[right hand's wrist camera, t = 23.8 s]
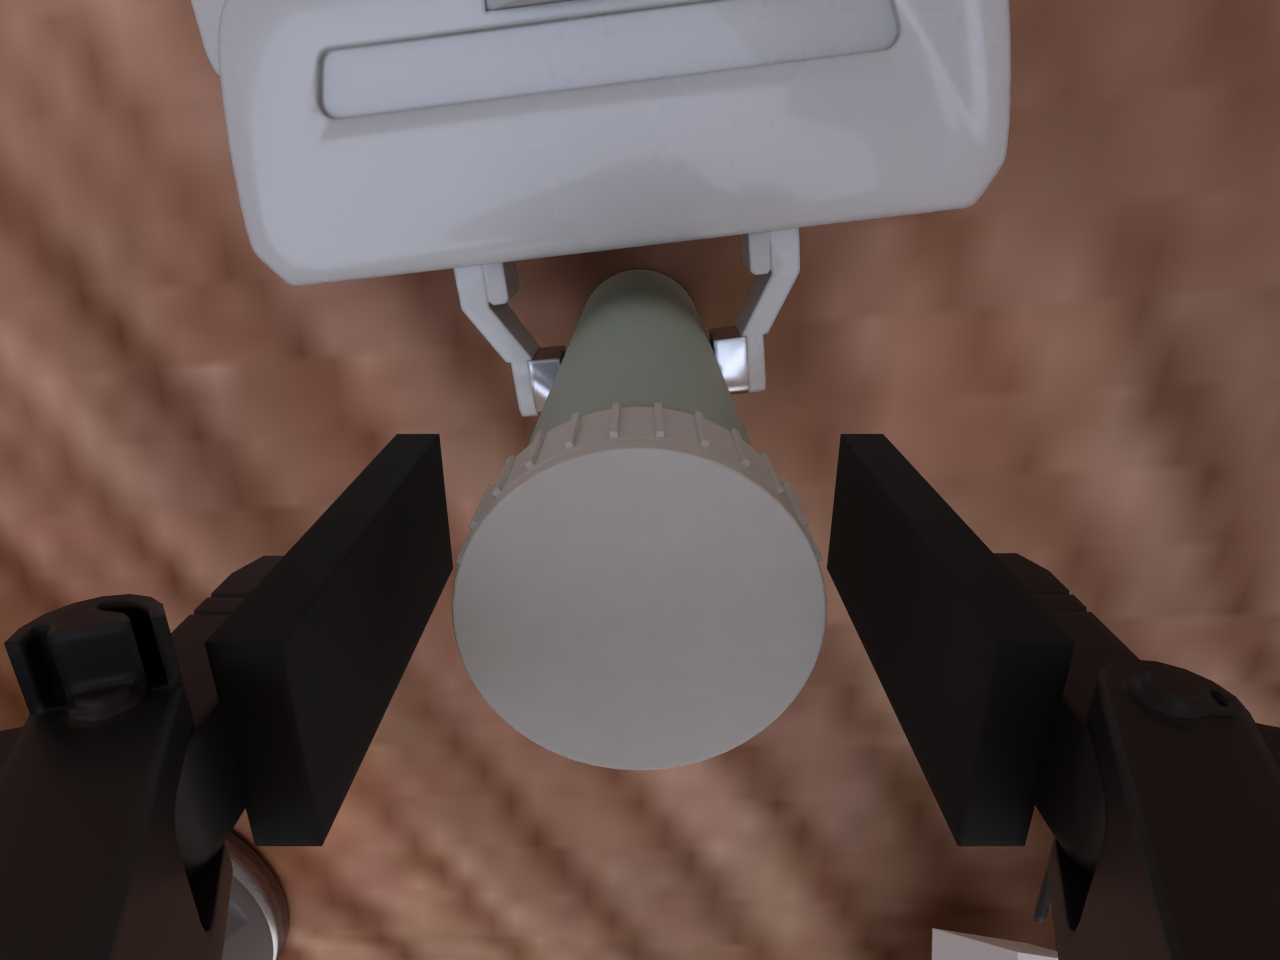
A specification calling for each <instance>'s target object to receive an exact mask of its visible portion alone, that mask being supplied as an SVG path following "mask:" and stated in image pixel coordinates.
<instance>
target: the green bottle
mask: <svg viewBox="0 0 1280 960" xmlns="http://www.w3.org/2000/svg"><path fill="white" fill-rule="evenodd" d="M615 403H620V407H621V408H623V407H654V404H655V403H662V408H665V409H670V410H675V411H681V412H685V413H689V414H692V415H694V414H695V411H699V412H702V413H703V417H704V419H707V420H709V421H711V422H713V423H715V424H717V425H719V426H721V427H723V428H725V429H727V430H729V431H731V430H732V428H735V429H737V430H738V431H739V433H740V435H741V438H742V440H744V441H745V442H746V443H747V444H749V445H750V446H751V443H750V441H749V438H748V436H747V433H746V431H745V428H744V426H743V424H742V421H741V419H740V416H739V414H738V411H737V409H736V406H735V404H734V401H733V399H732V397H731V394H730V392H729V389H728V387H727V384H726V382H725V379H724V377H723V374H722V372H721V369H720V367H719V365H718V362H717V360H716V357H715V355H714V352H713V350H712V347H711V345H710V342H709V340H708V337H707V335H706V333H705V330H704V328H703V325H702V323H701V320H700V318H699V315H698V313H697V310H696V308H695V305H694V303H693V302H692V300H691V298H690V296H689V295H688V294H687V292H686V291H685V290H684V289H683V288H682V287H681V286H680V285H679V284H678V283H677V282H676V281H674V280H673V279H671V278H670V277H668V276H666V275H664V274H661V273H659V272H655V271H651V270H642V269H636V270H628V271H624V272H621V273H618V274H616V275H613V276H612V277H610V278H608V279H606V280H605V281H604V282H602V283H601V284H600V285H599V286H598V287H597V288H596V289H595V290H594V291H593V293H592V294H591V295H590V297H589V298H588V300H587V302H586V304H585V306H584V309H583V311H582V314H581V316H580V319H579V321H578V324H577V326H576V328H575V331H574V333H573V336H572V338H571V341H570V343H569V346H568V348H567V350H566V353H565V355H564V358H563V360H562V363H561V365H560V368H559V370H558V372H557V375H556V377H555V380H554V382H553V385H552V387H551V390H550V392H549V394H548V397H547V399H546V402H545V404H544V407H543V409H542V412H541V414H540V416H539V419H538V421H537V424H536V426H535V429H534V431H533V434H532V436H531V438H530V441H529V443H528V446H529V445H530V444H531V443H533V441H534V438H535V436H536V433H537V432H539V431H540V430H543V431H544V433H545V434H546V433H547V432H549V431H550V430H552V429H553V428H555V427H558V426H560V425H562V424H564V423H566V422H568V421H570V420H571V417H572V414H574V413H577V412H579V413H580V416H584V415H587V414H590V413H593V412H598V411H603V410H608V409H612V405H613V404H615ZM528 446H527V447H528ZM751 447H752V446H751Z"/></svg>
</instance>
